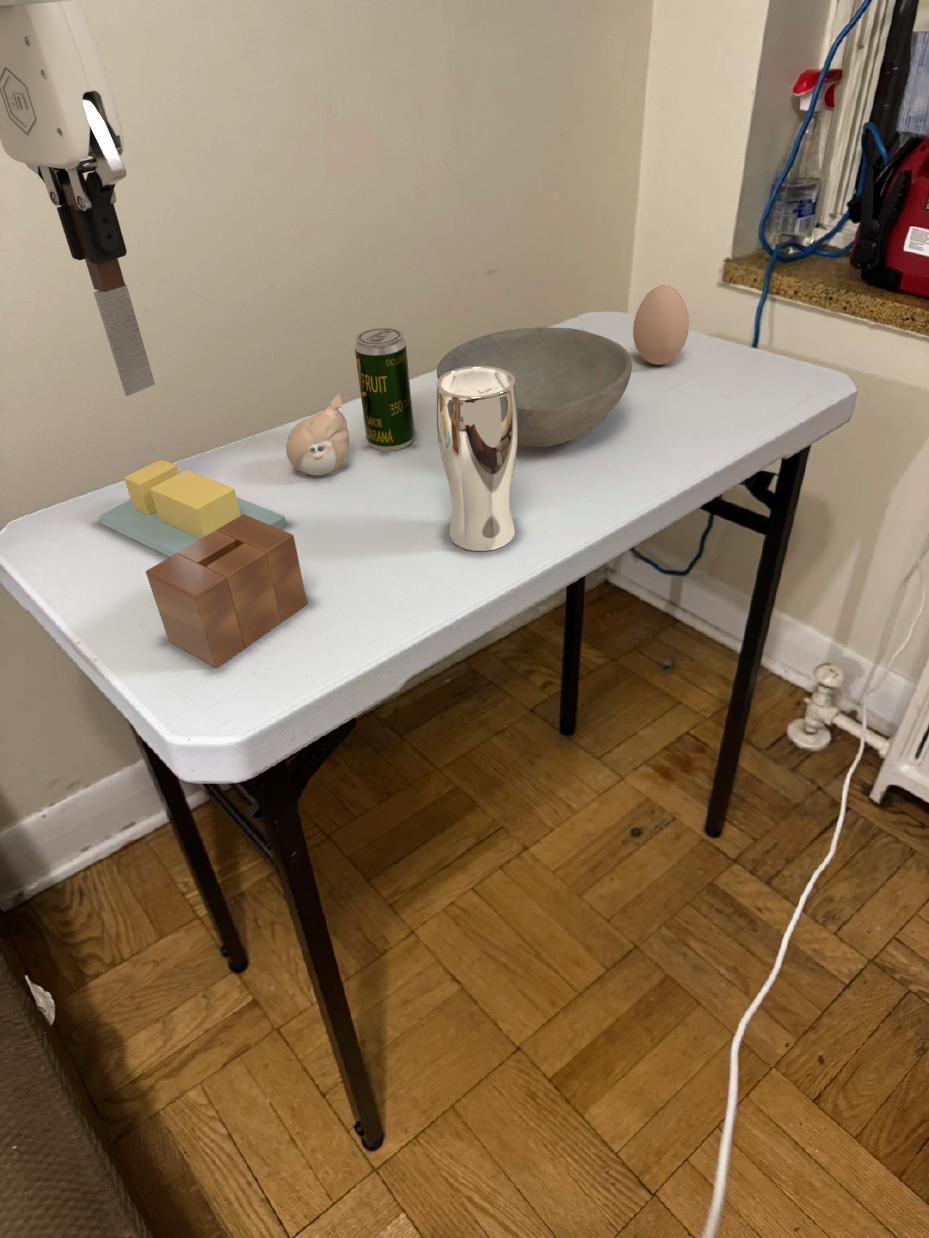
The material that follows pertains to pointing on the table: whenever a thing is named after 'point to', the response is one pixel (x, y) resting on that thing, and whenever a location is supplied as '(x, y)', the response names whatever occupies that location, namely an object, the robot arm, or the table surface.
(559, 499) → the table surface
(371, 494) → the table surface
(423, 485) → the table surface
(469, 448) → the beer glass
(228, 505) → the butter
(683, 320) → the egg
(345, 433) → the garlic bulb
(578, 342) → the bowl
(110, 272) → the knife
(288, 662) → the table surface
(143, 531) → the butter dish
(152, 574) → the knife block
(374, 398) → the green soda can
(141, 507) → the butter slice
